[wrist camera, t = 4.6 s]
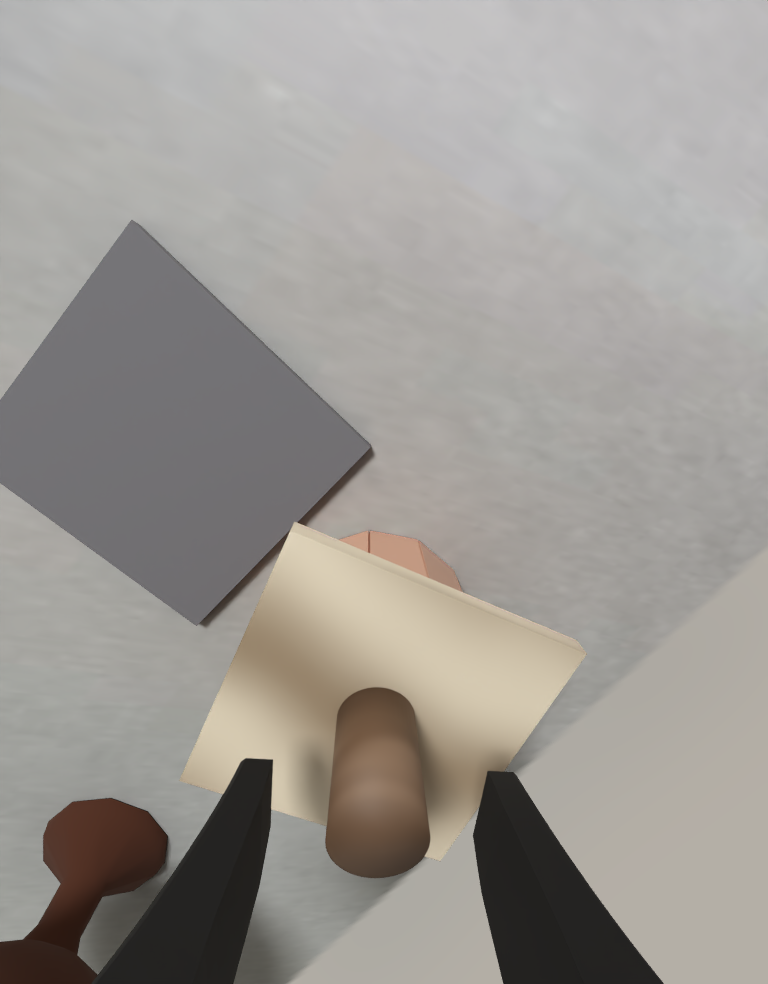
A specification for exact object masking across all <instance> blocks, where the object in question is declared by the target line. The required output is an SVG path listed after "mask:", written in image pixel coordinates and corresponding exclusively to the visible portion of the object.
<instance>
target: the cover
mask: <svg viewBox="0 0 768 984" xmlns="http://www.w3.org/2000/svg"><path fill="white" fill-rule="evenodd" d="M586 655H587V653H586V652H585V651H584V649H583V648H582V647H581V645H580V644H579V643H578V641H577V640H575V639H572V638H570V637H568V636H565V635H563V634H561V633H558V632H556V631H553V630H551V629H549V628H546V627H544V626H542V625H539V624H537V623H534V622H532V621H530V620H527V619H525V618H523V617H520V616H518V615H515V614H513V613H511V612H508V611H506V610H504V609H501V608H499V607H496V606H494V605H492V604H489V603H487V602H485V601H482V600H480V599H477V598H475V597H473V596H470V595H468V594H466V593H463V592H461V591H458V590H456V589H454V588H451V587H449V586H446V585H444V584H442V583H439V582H437V581H435V580H432V579H430V578H427V577H425V576H423V575H420V574H418V573H416V572H413V571H411V570H408V569H406V568H404V567H401V566H399V565H397V564H394V563H392V562H389V561H387V560H385V559H382V558H380V557H378V556H375V555H373V554H370V553H368V552H366V551H363V550H361V549H359V548H356V547H354V546H351V545H349V544H347V543H344V542H342V541H340V540H337V539H335V538H332V537H330V536H328V535H325V534H323V533H321V532H318V531H316V530H313V529H311V528H309V527H306V526H304V525H302V524H299V523H297V522H294V524H293V526H292V528H291V530H290V532H289V535H288V537H287V539H286V541H285V544H284V546H283V548H282V550H281V553H280V555H279V557H278V559H277V562H276V564H275V566H274V568H273V571H272V573H271V575H270V577H269V580H268V582H267V584H266V586H265V589H264V591H263V593H262V595H261V598H260V600H259V602H258V604H257V607H256V609H255V611H254V613H253V616H252V618H251V620H250V622H249V625H248V627H247V629H246V631H245V634H244V636H243V638H242V640H241V643H240V645H239V647H238V649H237V652H236V654H235V656H234V658H233V661H232V663H231V665H230V667H229V670H228V672H227V674H226V676H225V679H224V681H223V683H222V685H221V688H220V690H219V692H218V694H217V697H216V699H215V701H214V704H213V706H212V708H211V710H210V713H209V715H208V717H207V719H206V722H205V724H204V726H203V728H202V731H201V733H200V735H199V737H198V740H197V742H196V744H195V746H194V749H193V751H192V753H191V755H190V758H189V760H188V762H187V764H186V767H185V769H184V771H183V773H182V776H181V778H180V780H179V781H182V782H185V783H188V784H192V785H195V786H198V787H201V788H205V789H208V790H211V791H214V792H217V793H221V794H224V792H225V790H226V789H227V787H228V785H229V783H230V781H231V780H232V778H233V776H234V774H235V772H236V770H237V768H238V766H239V764H240V762H241V761H242V760H244V759H245V758H254V759H273V775H272V801H271V809H272V810H276V811H279V812H282V813H285V814H289V815H292V816H295V817H298V818H302V819H305V820H308V821H311V822H315V823H318V824H321V825H324V826H327V829H326V840H325V843H326V849H327V852H328V854H329V856H330V858H331V859H332V861H333V862H334V863H335V864H336V865H338V866H339V867H340V868H342V869H343V870H345V871H347V872H349V873H351V874H354V875H357V876H361V877H367V878H384V877H390V876H395V875H398V874H401V873H403V872H405V871H408V870H409V869H411V868H413V867H414V866H415V865H417V864H418V863H419V862H420V861H421V860H422V859H423V857H424V856H425V857H428V858H431V859H434V860H438V861H441V860H442V858H443V857H444V855H445V854H446V853H447V851H448V850H449V848H450V847H451V846H452V844H453V843H454V841H455V840H456V838H457V837H458V836H459V834H460V833H461V831H462V830H463V829H464V827H465V826H466V824H467V823H468V821H469V820H470V819H471V817H472V816H473V814H474V813H475V812H476V810H477V809H478V807H479V806H480V802H481V798H482V793H483V789H484V785H485V780H486V776H487V771H500V772H504V771H505V769H506V768H507V766H508V765H509V763H510V762H511V761H512V759H513V758H514V756H515V755H516V754H517V752H518V751H519V749H520V748H521V746H522V745H523V744H524V742H525V741H526V739H527V738H528V737H529V735H530V734H531V732H532V731H533V730H534V728H535V727H536V725H537V724H538V722H539V721H540V720H541V718H542V717H543V715H544V714H545V713H546V711H547V710H548V708H549V707H550V705H551V704H552V703H553V701H554V700H555V698H556V697H557V696H558V694H559V693H560V691H561V690H562V688H563V687H564V686H565V684H566V683H567V681H568V680H569V679H570V677H571V676H572V674H573V673H574V671H575V670H576V669H577V667H578V666H579V664H580V663H581V662H582V660H583V659H584V657H585V656H586Z"/></svg>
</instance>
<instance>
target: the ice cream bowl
mask: <svg viewBox="0 0 768 984" xmlns="http://www.w3.org/2000/svg"><path fill="white" fill-rule="evenodd" d="M167 837H168V836H167V835H166V834H165V833H164V831H163V830H162V829H161V828H160V827H159V825H158V824H157V823H156V822H155V820H154V819H153V818H152V817H151V816H150V814H149V813H148V812H147V811H144V810H141V809H139V808H136V807H133V806H130V805H128V804H125V803H122V802H120V801H117V800H114V799H111V798H108V799H98V800H87V801H77V802H72V803H71V804H69V805H68V806H67V807H66V808H64V809H63V810H62V811H61V812H60V813H58V814H57V815H56V816H55V817H53V818H52V819H51V820H50V821H49V822H48V824H47V827H46V830H45V833H44V835H43V861H44V862H45V864H46V865H47V866H48V868H49V869H50V870H51V871H52V873H53V874H54V875H55V877H56V878H57V879H58V880H59V882H60V883H61V885H60V886H59V888H58V890H57V892H56V893H55V895H54V897H53V899H52V901H51V902H50V904H49V906H48V908H47V909H46V911H45V913H44V915H43V917H42V918H41V920H40V922H39V924H38V925H37V926H36V927H35V928H34V929H33V930H32V931H31V932H30V933H29V934H28V935H27V936H26V937H25V938H24V939H23V940H15V941H5V942H0V984H91V983H92V982H93V981H94V979H95V978H96V977H97V976H98V975H97V974H96V973H95V972H94V971H93V970H92V969H91V968H90V967H89V966H88V965H87V964H86V963H85V962H84V961H83V960H82V959H81V958H80V957H79V956H77V953H78V948H79V942H80V938H81V936H82V934H83V932H84V930H85V928H86V926H87V924H88V923H89V921H90V919H91V917H92V915H93V913H94V911H95V909H96V908H97V906H98V904H99V902H100V900H101V898H102V897H104V896H109V895H114V894H120V893H125V892H130V891H134V890H135V889H136V888H138V887H139V886H140V885H142V884H143V883H145V882H146V881H147V880H149V879H150V878H151V877H153V876H154V875H155V874H156V873H157V872H158V871H159V869H160V868H161V866H162V865H163V864H164V862H165V855H166V846H167Z"/></svg>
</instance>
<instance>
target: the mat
mask: <svg viewBox="0 0 768 984" xmlns="http://www.w3.org/2000/svg"><path fill="white" fill-rule="evenodd" d="M370 447H371V445H370V444H369V443H368V442H367V441H366V440H365V439H364V438H363V437H362V436H361V435H360V434H359V433H358V432H357V431H356V430H355V429H353V428H352V427H351V426H350V425H349V424H348V423H347V422H346V421H345V420H344V419H343V418H342V417H341V416H340V415H339V414H338V413H337V412H336V411H335V410H333V409H332V408H331V407H330V406H329V405H328V404H327V403H326V402H325V401H324V400H323V399H322V398H321V397H320V396H319V395H318V394H317V393H316V392H315V391H314V390H312V389H311V388H310V387H309V386H308V385H307V384H306V383H305V382H304V381H303V380H302V379H301V378H300V377H299V376H298V375H297V374H296V373H295V372H294V371H293V370H291V369H290V368H289V367H288V366H287V365H286V364H285V363H284V362H283V361H282V360H281V359H280V358H279V357H278V356H277V355H276V354H275V353H274V352H273V351H272V350H270V349H269V348H268V347H267V346H266V345H265V344H264V343H263V342H262V341H261V340H260V339H259V338H258V337H257V336H256V335H255V334H254V333H253V332H252V331H250V330H249V329H248V328H247V327H246V326H245V325H244V324H243V323H242V322H241V321H240V320H239V319H238V318H237V317H236V316H235V315H234V314H233V313H232V312H231V311H229V310H228V309H227V308H226V307H225V306H224V305H223V304H222V303H221V302H220V301H219V300H218V299H217V298H216V297H215V296H214V295H213V294H212V293H211V292H210V291H208V290H207V289H206V288H205V287H204V286H203V285H202V284H201V283H200V282H199V281H198V280H197V279H196V278H195V277H194V276H193V275H192V274H191V273H190V272H189V271H187V270H186V269H185V268H184V267H183V266H182V265H181V264H180V263H179V262H178V261H177V260H176V259H175V258H174V257H173V256H172V255H171V254H170V253H169V252H168V251H166V250H165V249H164V248H163V247H162V246H161V245H160V244H159V243H158V242H157V241H156V240H155V239H154V238H153V237H152V236H151V235H150V234H149V233H148V232H146V231H145V230H144V229H143V228H142V227H141V226H140V225H139V224H138V223H136V222H134V221H133V220H131V221H130V223H129V224H128V225H127V227H126V228H125V229H124V231H123V232H122V234H121V235H120V236H119V238H118V239H117V240H116V242H115V243H114V245H113V246H112V247H111V249H110V250H109V251H108V253H107V254H106V256H105V257H104V258H103V260H102V261H101V262H100V264H99V265H98V267H97V268H96V269H95V271H94V272H93V273H92V275H91V276H90V278H89V279H88V280H87V282H86V283H85V284H84V286H83V287H82V289H81V290H80V291H79V293H78V294H77V295H76V297H75V298H74V300H73V301H72V302H71V304H70V305H69V306H68V308H67V309H66V311H65V312H64V313H63V315H62V316H61V317H60V319H59V320H58V322H57V323H56V324H55V326H54V327H53V328H52V330H51V331H50V333H49V334H48V335H47V337H46V338H45V339H44V341H43V342H42V344H41V345H40V346H39V348H38V349H37V350H36V352H35V353H34V354H33V356H32V357H31V359H30V360H29V361H28V363H27V364H26V365H25V367H24V368H23V370H22V371H21V372H20V374H19V375H18V376H17V378H16V379H15V381H14V382H13V383H12V385H11V386H10V387H9V389H8V390H7V392H6V393H5V394H4V396H3V397H2V398H1V400H0V483H1V484H2V485H4V486H5V487H6V488H8V489H9V490H11V491H12V492H13V493H15V494H16V495H17V496H19V497H20V498H22V499H23V500H24V501H26V502H27V503H28V504H30V505H31V506H33V507H34V508H35V509H37V510H38V511H39V512H41V513H42V514H44V515H45V516H46V517H48V518H49V519H50V520H52V521H53V522H54V523H56V524H57V525H59V526H60V527H61V528H63V529H64V530H65V531H67V532H68V533H70V534H71V535H72V536H74V537H75V538H76V539H78V540H79V541H81V542H82V543H83V544H85V545H86V546H87V547H89V548H90V549H92V550H93V551H94V552H96V553H97V554H98V555H100V556H101V557H103V558H104V559H105V560H107V561H108V562H109V563H111V564H112V565H113V566H115V567H116V568H118V569H119V570H120V571H122V572H123V573H124V574H126V575H127V576H129V577H130V578H131V579H133V580H134V581H135V582H137V583H138V584H140V585H141V586H142V587H144V588H145V589H146V590H148V591H149V592H151V593H152V594H153V595H155V596H156V597H157V598H159V599H160V600H161V601H163V602H164V603H166V604H167V605H168V606H170V607H171V608H172V609H174V610H175V611H177V612H178V613H179V614H181V615H182V616H183V617H185V618H186V619H188V620H189V621H190V622H192V623H193V624H194V625H196V626H197V625H198V624H199V623H200V622H201V621H202V620H203V619H204V618H205V617H206V616H207V615H208V614H209V613H210V612H211V611H212V609H213V608H214V607H215V606H216V605H217V604H218V603H219V602H220V601H221V600H222V599H223V598H224V597H225V596H226V595H227V594H228V593H229V592H230V591H231V590H232V589H233V588H234V587H235V586H236V585H237V584H238V583H239V582H240V581H241V580H242V579H243V578H244V577H245V576H246V575H247V574H248V573H249V572H250V571H251V569H252V568H253V567H254V566H255V565H256V564H257V563H258V562H259V561H260V560H261V559H262V558H263V557H264V556H265V555H266V554H267V553H268V552H269V551H270V550H271V549H272V548H273V547H274V546H275V545H276V544H277V543H278V542H279V541H280V540H281V539H282V538H283V537H284V536H285V535H286V534H287V533H288V532H289V531H290V529H291V528H292V526H293V524H294V522H298V521H299V520H300V519H301V518H302V517H303V516H304V515H305V514H306V513H307V512H308V511H309V510H310V509H311V508H312V507H313V506H314V505H315V504H316V503H317V502H318V501H319V500H320V499H321V498H322V497H323V496H324V495H325V494H326V493H327V492H328V491H329V489H330V488H331V487H332V486H333V485H334V484H335V483H336V482H337V481H338V480H339V479H340V478H341V477H342V476H343V475H344V474H345V473H346V472H347V471H348V470H349V469H350V468H351V467H352V466H353V465H354V464H355V463H356V462H357V461H358V460H359V459H360V458H361V457H362V456H363V455H364V454H365V453H366V452H367V451H368V449H369V448H370Z"/></svg>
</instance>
